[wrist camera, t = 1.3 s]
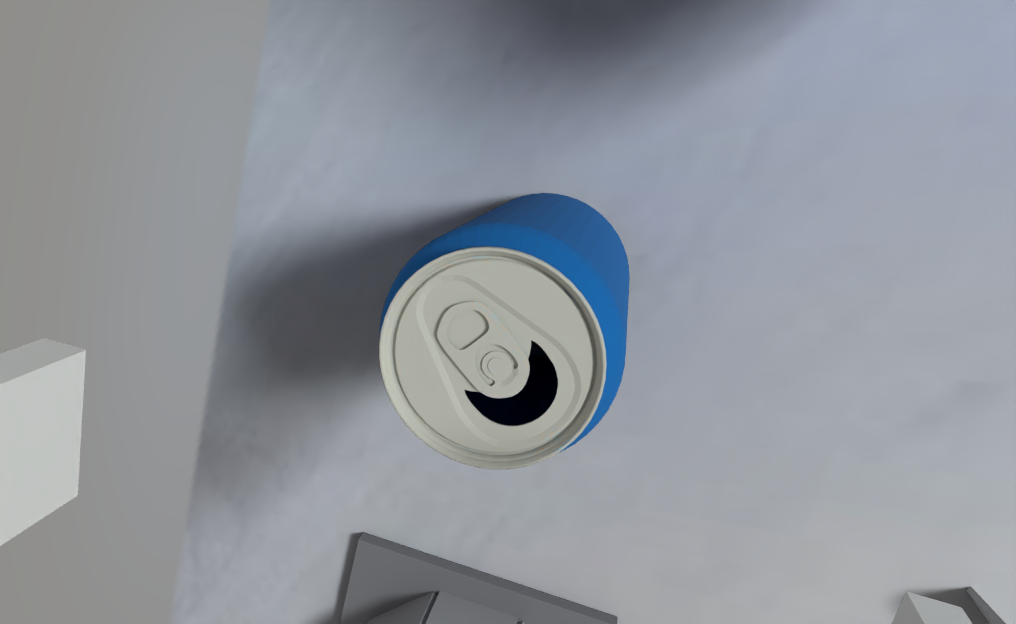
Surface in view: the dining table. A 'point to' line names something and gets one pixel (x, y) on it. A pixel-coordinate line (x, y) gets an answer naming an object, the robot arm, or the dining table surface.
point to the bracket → (984, 608)
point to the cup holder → (445, 592)
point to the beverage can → (509, 332)
